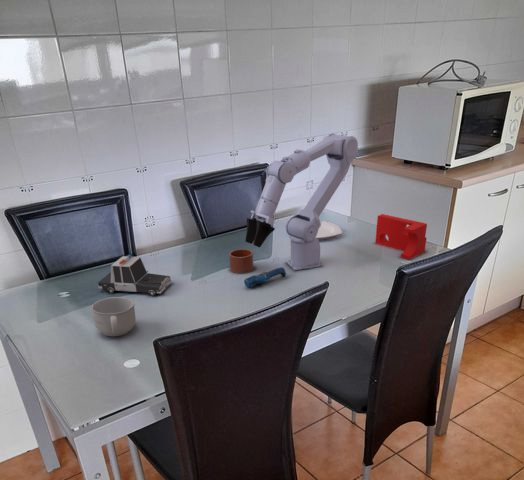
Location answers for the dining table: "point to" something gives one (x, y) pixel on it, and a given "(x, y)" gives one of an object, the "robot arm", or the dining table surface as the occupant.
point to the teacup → (114, 315)
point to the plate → (328, 230)
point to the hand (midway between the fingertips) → (252, 244)
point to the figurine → (263, 277)
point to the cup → (241, 261)
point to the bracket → (401, 235)
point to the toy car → (133, 277)
